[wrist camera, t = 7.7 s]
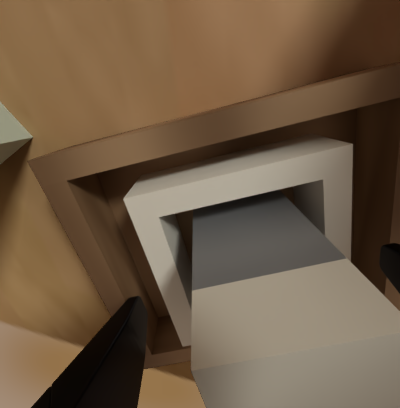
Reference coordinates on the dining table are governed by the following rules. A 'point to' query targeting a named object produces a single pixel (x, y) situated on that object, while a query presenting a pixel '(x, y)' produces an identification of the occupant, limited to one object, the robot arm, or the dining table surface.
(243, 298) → the plug
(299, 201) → the socket
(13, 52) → the dining table surface
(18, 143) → the sage plug
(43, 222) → the dining table surface
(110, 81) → the dining table surface
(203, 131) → the caddy
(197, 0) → the dining table surface
